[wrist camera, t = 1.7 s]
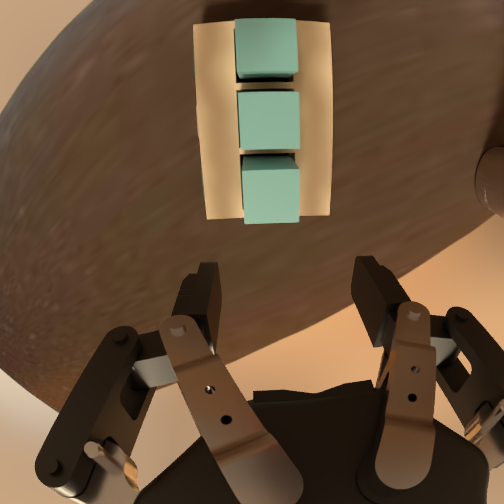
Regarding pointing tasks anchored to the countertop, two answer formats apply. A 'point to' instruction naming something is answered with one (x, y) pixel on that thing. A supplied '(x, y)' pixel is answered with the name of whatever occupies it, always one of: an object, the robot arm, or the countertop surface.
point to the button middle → (269, 120)
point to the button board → (227, 117)
